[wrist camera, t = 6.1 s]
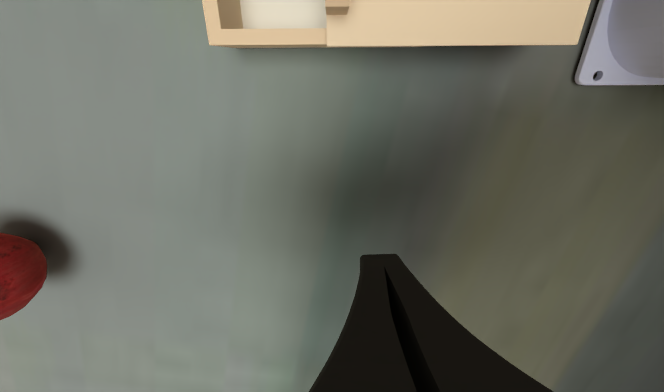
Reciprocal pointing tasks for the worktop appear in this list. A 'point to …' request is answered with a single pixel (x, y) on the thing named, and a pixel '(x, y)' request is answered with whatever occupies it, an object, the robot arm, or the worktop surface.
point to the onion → (19, 273)
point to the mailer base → (267, 23)
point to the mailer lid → (454, 22)
